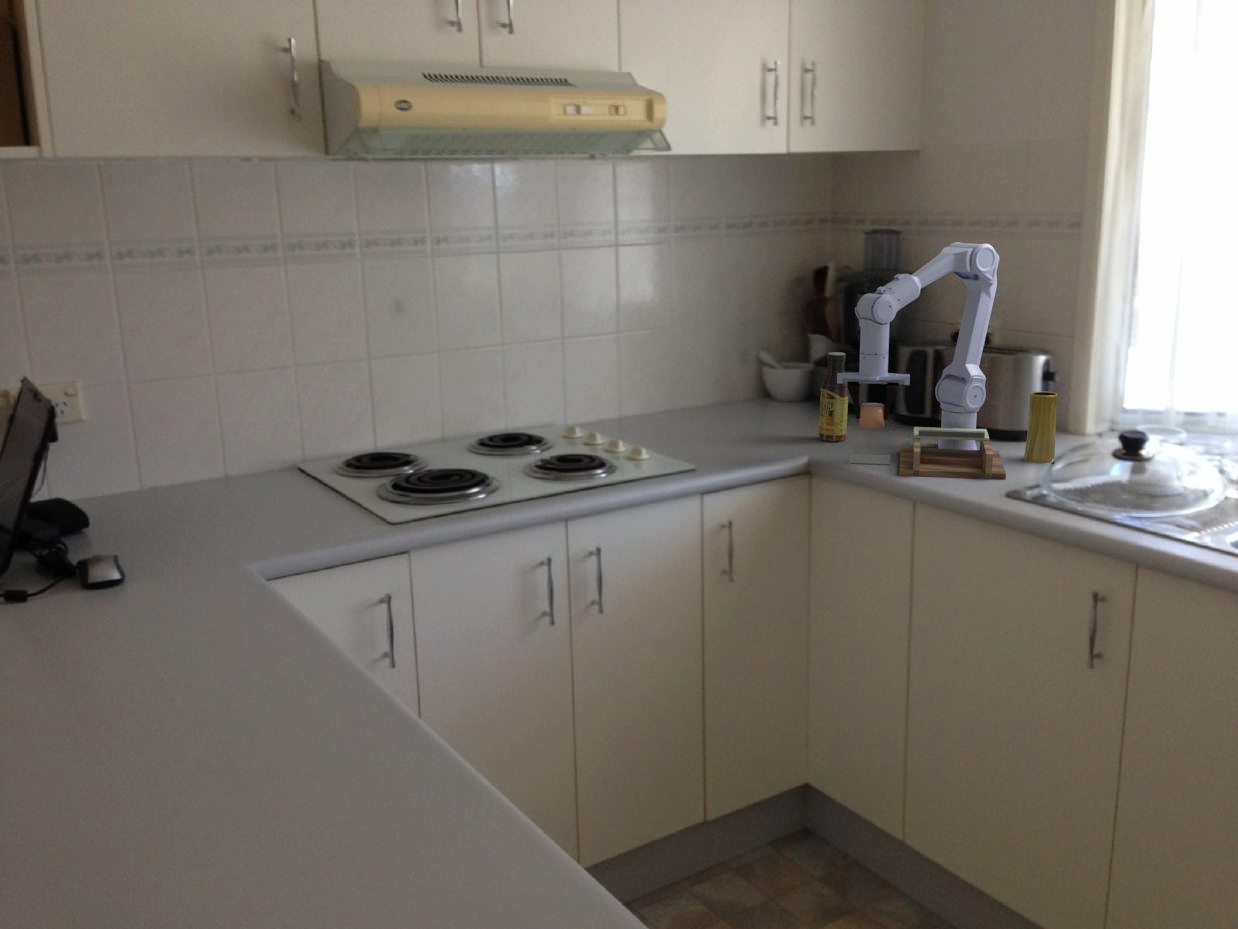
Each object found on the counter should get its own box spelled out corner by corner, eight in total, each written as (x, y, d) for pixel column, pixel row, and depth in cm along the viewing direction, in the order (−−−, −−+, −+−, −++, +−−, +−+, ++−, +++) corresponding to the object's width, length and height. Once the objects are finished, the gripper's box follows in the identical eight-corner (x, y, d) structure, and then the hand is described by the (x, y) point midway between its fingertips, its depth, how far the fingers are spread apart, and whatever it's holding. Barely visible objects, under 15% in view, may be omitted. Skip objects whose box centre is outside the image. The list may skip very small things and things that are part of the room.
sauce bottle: (813, 438, 263) (815, 352, 258) (835, 435, 266) (838, 350, 261) (829, 444, 257) (832, 355, 253) (852, 441, 260) (855, 353, 255)
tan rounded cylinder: (859, 424, 241) (859, 402, 240) (883, 423, 240) (884, 402, 239) (859, 428, 236) (859, 407, 235) (884, 428, 236) (884, 407, 234)
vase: (1027, 456, 242) (1031, 389, 239) (1057, 459, 239) (1062, 392, 236) (1020, 462, 237) (1025, 394, 234) (1051, 466, 234) (1056, 397, 231)
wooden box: (900, 454, 247) (901, 429, 245) (997, 457, 242) (999, 432, 241) (899, 476, 228) (900, 450, 227) (1005, 481, 223) (1007, 454, 222)
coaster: (851, 456, 245) (851, 453, 245) (890, 458, 243) (890, 455, 243) (849, 465, 238) (850, 462, 238) (889, 466, 236) (889, 464, 236)
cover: (913, 429, 245) (914, 421, 245) (986, 431, 242) (986, 424, 242) (913, 438, 237) (914, 430, 237) (989, 440, 233) (989, 433, 233)
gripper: (836, 355, 233) (835, 420, 236) (910, 356, 230) (907, 423, 233) (838, 350, 240) (837, 414, 243) (910, 351, 236) (907, 416, 239)
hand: (871, 418), depth 238 cm, fingers closed on tan rounded cylinder, 5 cm apart
